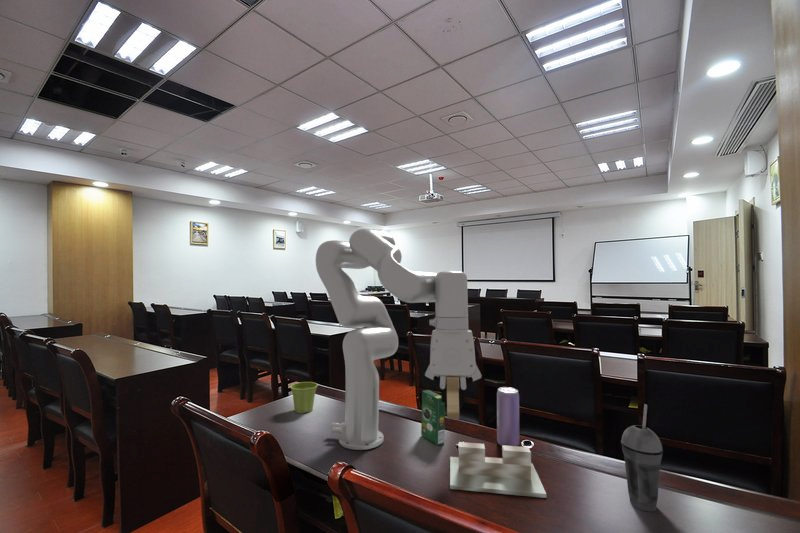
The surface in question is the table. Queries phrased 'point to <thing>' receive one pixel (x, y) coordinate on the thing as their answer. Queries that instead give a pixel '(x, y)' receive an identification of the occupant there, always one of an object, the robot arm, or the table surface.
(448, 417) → the wooden block
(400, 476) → the table surface
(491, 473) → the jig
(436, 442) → the coffee box
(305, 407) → the plant pot
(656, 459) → the beverage cup
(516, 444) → the beverage can
